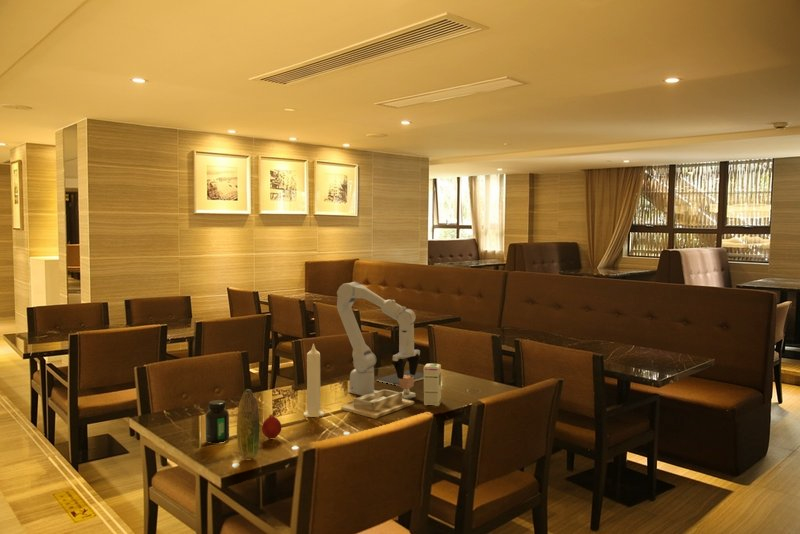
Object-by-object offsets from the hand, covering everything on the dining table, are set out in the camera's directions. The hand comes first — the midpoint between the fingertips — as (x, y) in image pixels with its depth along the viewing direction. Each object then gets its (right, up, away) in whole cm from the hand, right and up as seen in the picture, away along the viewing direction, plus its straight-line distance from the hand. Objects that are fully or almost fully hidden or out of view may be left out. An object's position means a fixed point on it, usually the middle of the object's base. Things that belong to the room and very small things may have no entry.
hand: (406, 376), depth 230 cm
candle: (-32, -10, -22) cm, 40 cm away
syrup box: (+9, -9, -8) cm, 15 cm away
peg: (0, -8, +1) cm, 8 cm away
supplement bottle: (-58, -11, -48) cm, 76 cm away
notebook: (-1, -7, +28) cm, 29 cm away
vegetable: (-45, -12, -62) cm, 78 cm away
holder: (-10, -9, -12) cm, 18 cm away
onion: (-42, -11, -47) cm, 64 cm away
